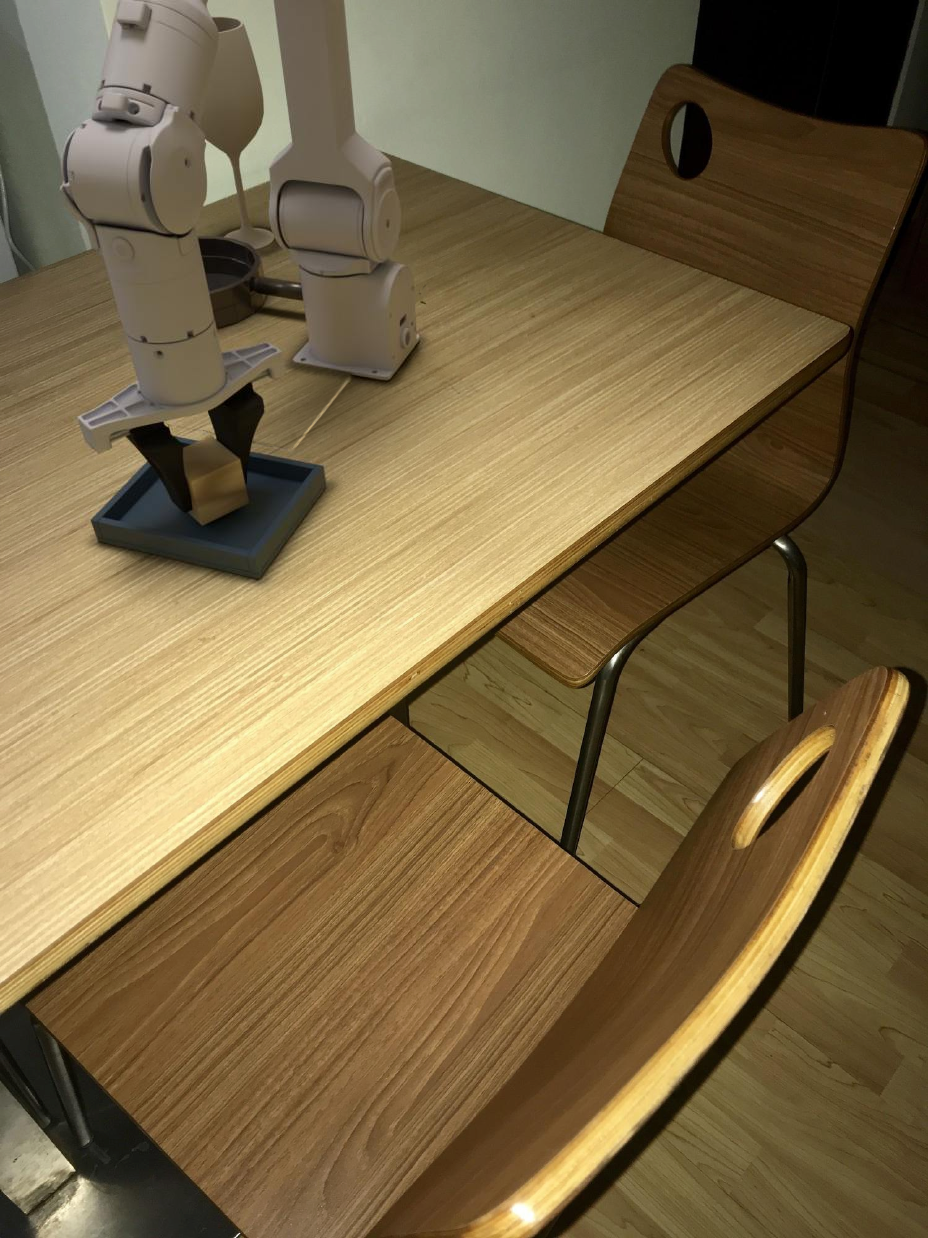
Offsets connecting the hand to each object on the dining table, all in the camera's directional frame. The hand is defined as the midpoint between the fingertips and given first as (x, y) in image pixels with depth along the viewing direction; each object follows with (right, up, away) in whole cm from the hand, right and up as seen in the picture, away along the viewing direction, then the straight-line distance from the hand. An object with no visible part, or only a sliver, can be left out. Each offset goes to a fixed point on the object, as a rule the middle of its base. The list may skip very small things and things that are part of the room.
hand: (210, 492), depth 73 cm
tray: (0, -1, +1) cm, 2 cm away
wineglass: (-5, +32, +35) cm, 47 cm away
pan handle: (+2, +21, +21) cm, 30 cm away
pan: (-7, +22, +25) cm, 34 cm away
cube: (0, -1, +1) cm, 1 cm away
